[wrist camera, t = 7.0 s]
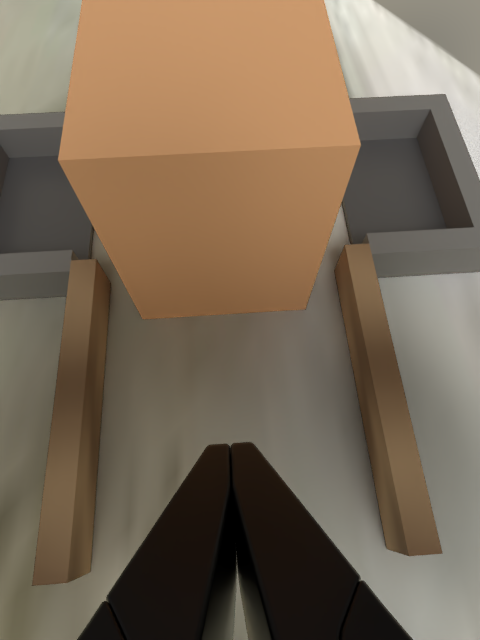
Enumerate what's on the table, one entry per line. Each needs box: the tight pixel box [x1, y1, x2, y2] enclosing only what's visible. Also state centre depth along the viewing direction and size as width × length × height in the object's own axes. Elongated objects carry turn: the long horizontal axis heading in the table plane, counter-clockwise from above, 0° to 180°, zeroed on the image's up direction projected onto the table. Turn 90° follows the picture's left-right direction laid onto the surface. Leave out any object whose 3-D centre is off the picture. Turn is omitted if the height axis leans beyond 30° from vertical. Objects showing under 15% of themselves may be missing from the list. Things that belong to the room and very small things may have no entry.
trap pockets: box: [0, 94, 480, 300], centre depth 19 cm, size 9×23×2 cm, turn 94°
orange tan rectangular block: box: [58, 0, 361, 319], centre depth 17 cm, size 15×7×9 cm, turn 4°
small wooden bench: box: [32, 244, 442, 586], centre depth 17 cm, size 27×12×4 cm, turn 4°
